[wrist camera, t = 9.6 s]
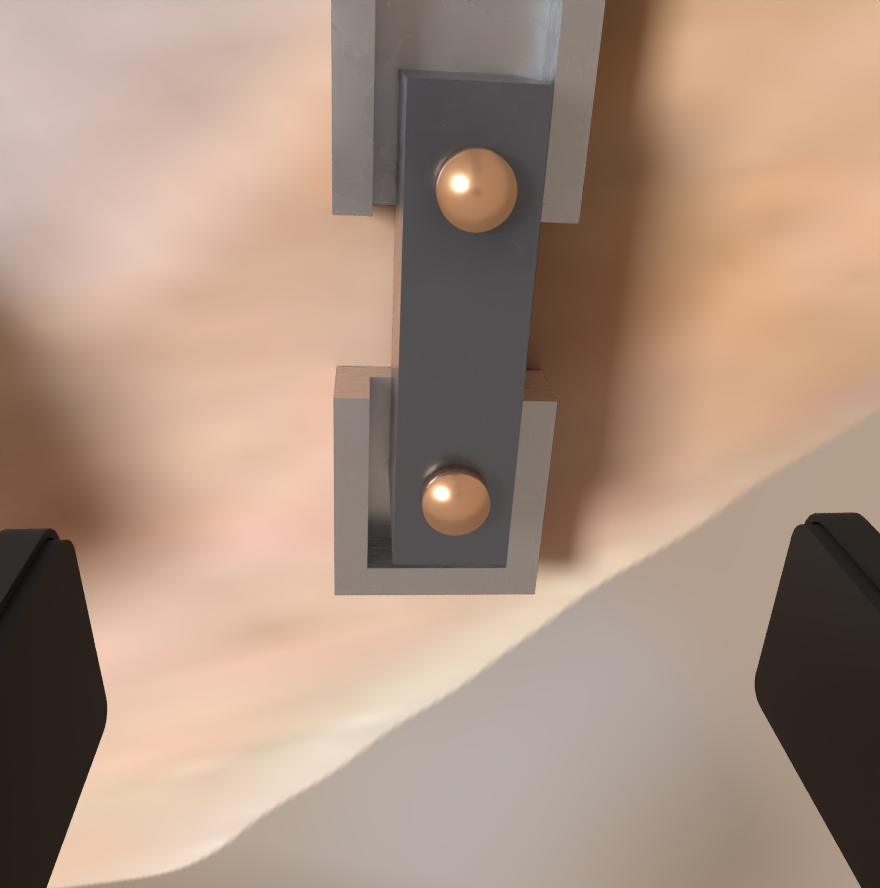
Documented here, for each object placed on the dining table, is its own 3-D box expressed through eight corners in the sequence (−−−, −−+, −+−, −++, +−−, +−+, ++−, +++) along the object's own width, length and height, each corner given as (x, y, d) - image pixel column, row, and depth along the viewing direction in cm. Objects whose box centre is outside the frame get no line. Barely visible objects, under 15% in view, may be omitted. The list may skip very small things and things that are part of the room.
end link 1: (334, -83, 25) (330, -98, 22) (588, -66, 25) (615, -78, 23) (335, 197, 28) (332, 214, 25) (559, 206, 29) (579, 223, 26)
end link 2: (336, 366, 31) (333, 398, 28) (541, 370, 31) (557, 401, 29) (337, 551, 34) (334, 595, 31) (521, 551, 35) (534, 594, 32)
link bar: (399, 69, 26) (408, 79, 20) (515, 74, 26) (559, 86, 20) (388, 474, 32) (393, 577, 26) (483, 475, 32) (509, 576, 26)
